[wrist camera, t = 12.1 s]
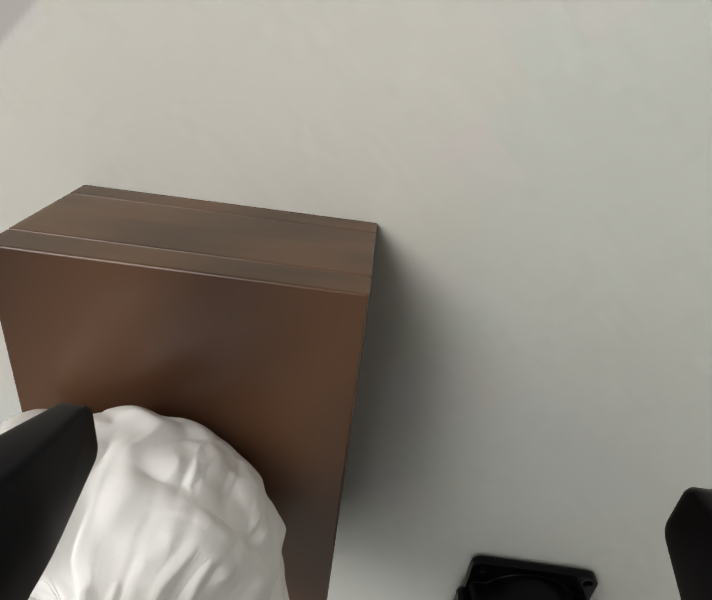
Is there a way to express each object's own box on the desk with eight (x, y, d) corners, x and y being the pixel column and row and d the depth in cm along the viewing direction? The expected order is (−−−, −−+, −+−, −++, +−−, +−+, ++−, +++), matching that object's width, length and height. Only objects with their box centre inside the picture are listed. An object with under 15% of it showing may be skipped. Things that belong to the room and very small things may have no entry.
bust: (318, 509, 23) (491, 705, 12) (187, 673, 21) (260, 1069, 10) (85, 311, 19) (51, 356, 8) (-105, 490, 17) (-449, 834, 6)
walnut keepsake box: (377, 222, 20) (369, 294, 15) (338, 502, 27) (325, 614, 22) (84, 184, 20) (-20, 243, 15) (122, 473, 27) (60, 577, 22)
